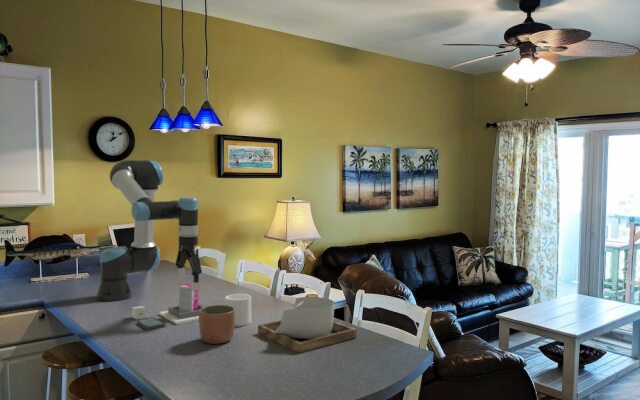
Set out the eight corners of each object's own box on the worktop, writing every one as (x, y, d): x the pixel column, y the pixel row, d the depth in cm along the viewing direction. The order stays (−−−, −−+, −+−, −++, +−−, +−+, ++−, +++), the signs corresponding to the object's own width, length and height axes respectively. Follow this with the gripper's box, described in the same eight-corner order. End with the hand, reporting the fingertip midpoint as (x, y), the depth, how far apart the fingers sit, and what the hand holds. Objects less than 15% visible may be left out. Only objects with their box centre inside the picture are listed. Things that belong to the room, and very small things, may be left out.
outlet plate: (159, 314, 206) (159, 307, 205) (199, 307, 217) (199, 300, 217) (176, 324, 191) (176, 317, 191) (218, 316, 203) (218, 309, 203)
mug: (256, 323, 194) (256, 297, 194) (234, 328, 187) (234, 301, 187) (238, 316, 203) (238, 291, 203) (217, 321, 197) (216, 295, 196)
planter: (217, 348, 165) (217, 316, 165) (191, 342, 172) (190, 310, 171) (242, 338, 176) (242, 308, 175) (216, 332, 182) (216, 303, 182)
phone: (136, 323, 193) (136, 320, 193) (154, 320, 197) (154, 317, 197) (146, 330, 184) (146, 327, 184) (165, 326, 189) (165, 324, 189)
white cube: (132, 317, 202) (132, 307, 201) (142, 315, 204) (142, 305, 204) (136, 319, 198) (136, 309, 198) (146, 318, 201) (146, 308, 200)
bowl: (328, 345, 168) (329, 310, 168) (273, 340, 171) (274, 306, 171) (336, 329, 187) (337, 297, 187) (287, 325, 191) (288, 294, 191)
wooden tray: (258, 333, 181) (258, 325, 181) (313, 321, 197) (313, 313, 197) (299, 352, 162) (299, 343, 161) (356, 337, 177) (356, 329, 177)
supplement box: (192, 315, 201) (191, 287, 200) (178, 314, 202) (178, 286, 201) (198, 311, 206) (198, 284, 206) (185, 310, 208) (185, 283, 207)
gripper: (167, 232, 210) (167, 282, 211) (192, 240, 190) (192, 294, 192) (184, 231, 215) (184, 279, 216) (210, 238, 195) (210, 291, 196)
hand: (188, 286), depth 204 cm, fingers open, 13 cm apart
